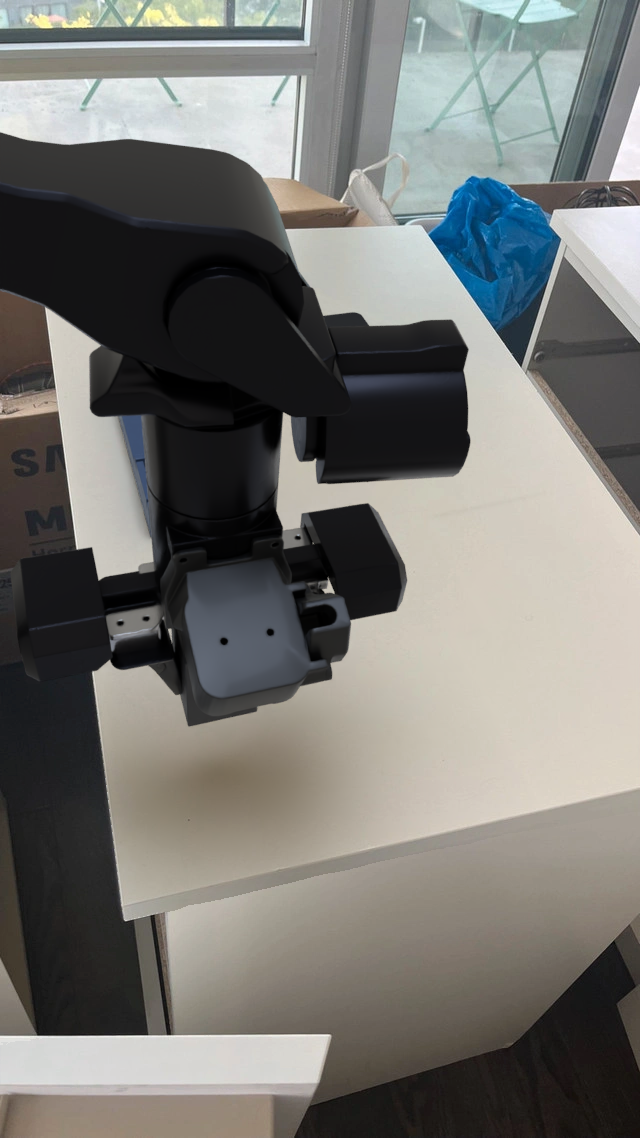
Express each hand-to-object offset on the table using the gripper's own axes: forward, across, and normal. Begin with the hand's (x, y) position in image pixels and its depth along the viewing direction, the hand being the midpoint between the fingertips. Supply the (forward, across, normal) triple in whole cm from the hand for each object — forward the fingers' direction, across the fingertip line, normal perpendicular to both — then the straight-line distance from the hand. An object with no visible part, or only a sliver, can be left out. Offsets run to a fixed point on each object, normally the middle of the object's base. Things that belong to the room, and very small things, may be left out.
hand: (214, 680), depth 48 cm
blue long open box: (+10, +3, +31) cm, 33 cm away
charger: (+1, 0, 0) cm, 1 cm away
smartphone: (+10, +24, +42) cm, 49 cm away
